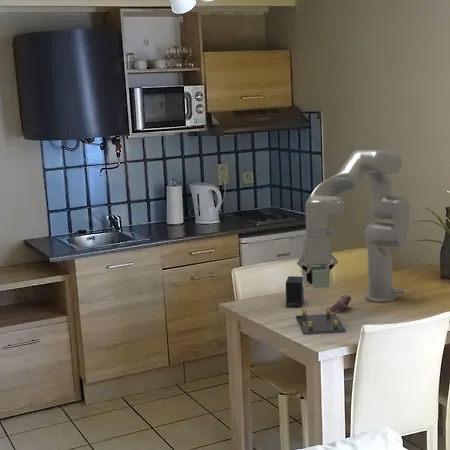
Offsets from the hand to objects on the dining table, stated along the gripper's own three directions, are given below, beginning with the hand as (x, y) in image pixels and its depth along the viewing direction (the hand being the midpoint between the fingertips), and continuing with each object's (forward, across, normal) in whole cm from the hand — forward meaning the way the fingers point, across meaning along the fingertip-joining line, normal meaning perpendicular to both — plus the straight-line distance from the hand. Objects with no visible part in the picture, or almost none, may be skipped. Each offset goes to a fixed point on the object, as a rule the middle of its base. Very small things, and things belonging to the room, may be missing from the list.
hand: (318, 282), depth 259 cm
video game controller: (+16, -12, -18) cm, 27 cm away
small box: (+16, +5, -30) cm, 35 cm away
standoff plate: (+16, 0, 0) cm, 16 cm away
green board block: (+1, 0, 0) cm, 1 cm away
